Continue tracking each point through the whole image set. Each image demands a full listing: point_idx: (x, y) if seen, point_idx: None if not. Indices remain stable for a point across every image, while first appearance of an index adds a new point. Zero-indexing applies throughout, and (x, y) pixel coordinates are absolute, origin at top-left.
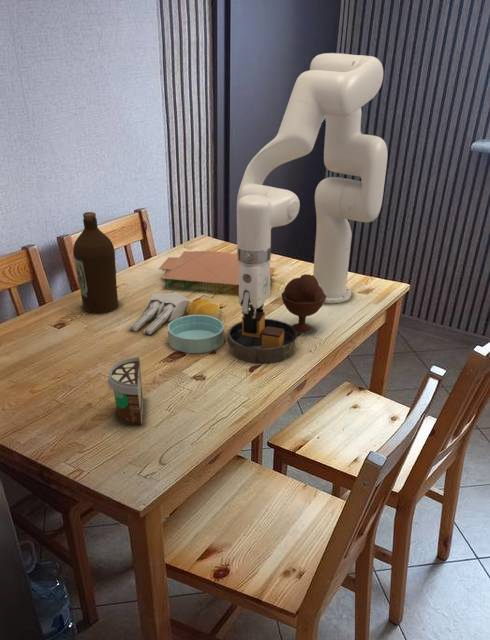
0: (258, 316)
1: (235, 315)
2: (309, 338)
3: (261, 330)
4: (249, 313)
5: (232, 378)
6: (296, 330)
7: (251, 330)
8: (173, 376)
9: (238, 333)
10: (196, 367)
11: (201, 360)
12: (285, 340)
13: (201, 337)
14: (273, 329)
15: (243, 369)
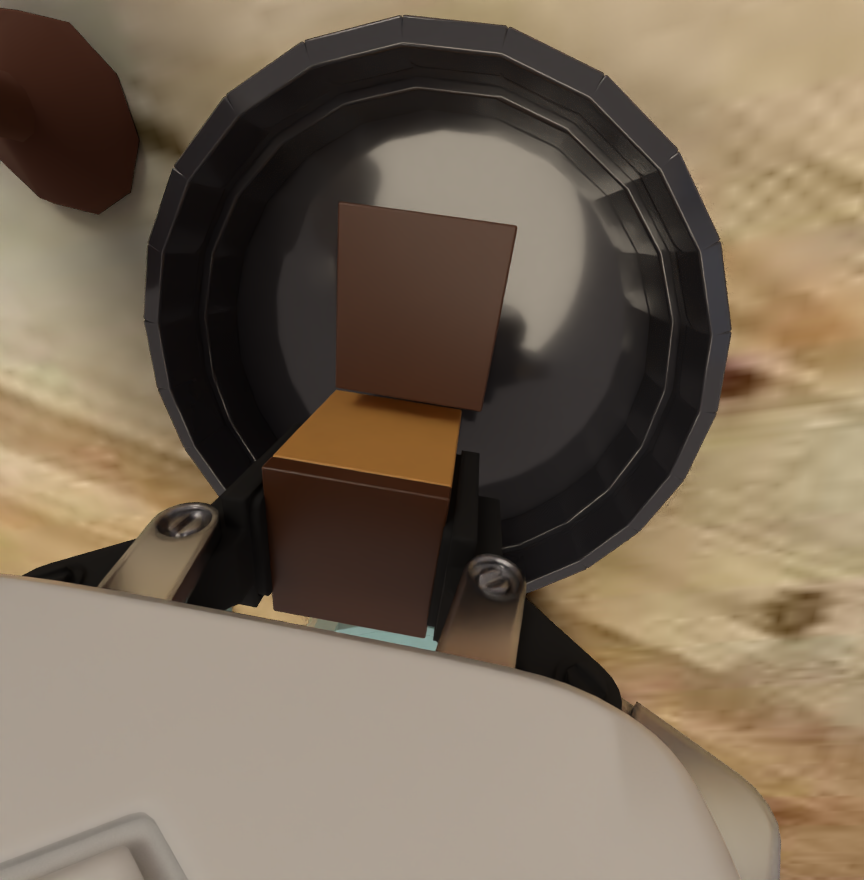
0: (377, 517)
1: (119, 536)
2: (153, 5)
3: (408, 418)
4: (621, 708)
5: (831, 474)
6: (109, 151)
7: (499, 502)
8: (763, 694)
9: None
10: (678, 630)
11: (604, 618)
12: (287, 216)
13: (397, 641)
14: (386, 316)
15: (714, 431)
